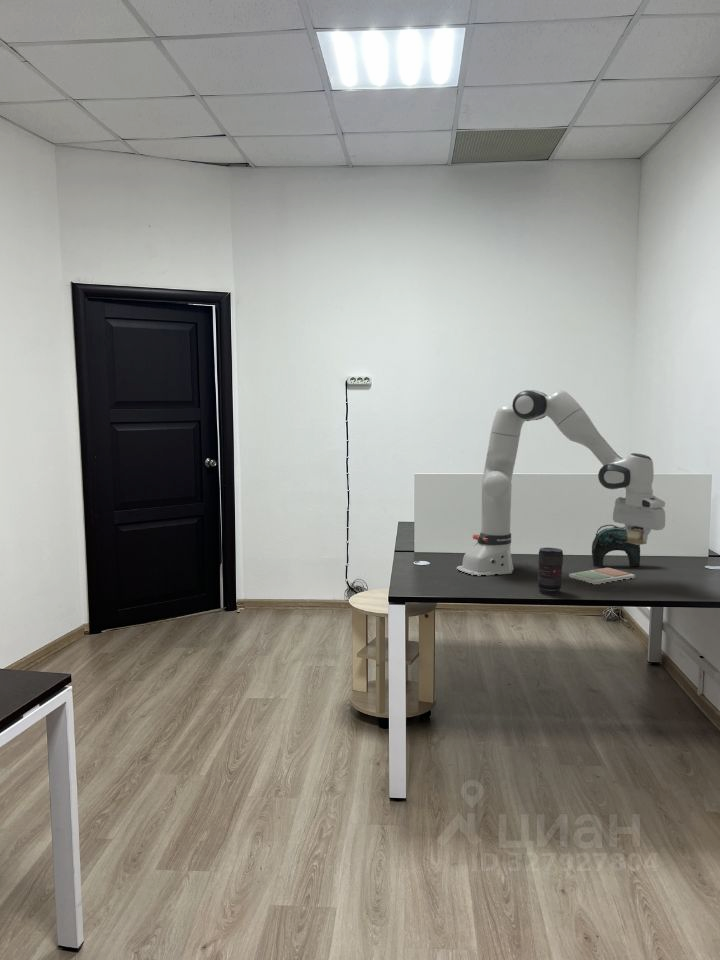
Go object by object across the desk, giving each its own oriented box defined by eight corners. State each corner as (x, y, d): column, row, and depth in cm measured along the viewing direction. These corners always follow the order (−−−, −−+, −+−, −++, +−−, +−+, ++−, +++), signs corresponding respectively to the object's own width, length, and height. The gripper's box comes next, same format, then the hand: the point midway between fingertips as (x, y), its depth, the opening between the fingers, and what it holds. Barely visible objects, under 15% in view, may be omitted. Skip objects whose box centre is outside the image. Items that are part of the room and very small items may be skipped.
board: (595, 584, 260) (595, 580, 259) (569, 576, 271) (569, 572, 271) (634, 578, 269) (635, 573, 269) (607, 570, 280) (608, 566, 280)
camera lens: (565, 594, 247) (566, 551, 245) (542, 595, 246) (543, 552, 244) (557, 588, 255) (558, 546, 253) (534, 589, 254) (535, 547, 252)
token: (637, 545, 254) (638, 532, 253) (627, 542, 258) (627, 530, 257) (646, 543, 256) (647, 531, 256) (636, 541, 260) (636, 529, 260)
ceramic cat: (639, 564, 291) (641, 515, 288) (645, 568, 284) (647, 517, 282) (589, 564, 291) (591, 515, 289) (594, 568, 285) (596, 517, 282)
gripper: (609, 496, 263) (608, 534, 264) (656, 504, 245) (654, 544, 247) (622, 495, 266) (620, 533, 267) (669, 503, 248) (667, 542, 249)
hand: (637, 538), depth 257 cm, fingers closed on token, 4 cm apart
